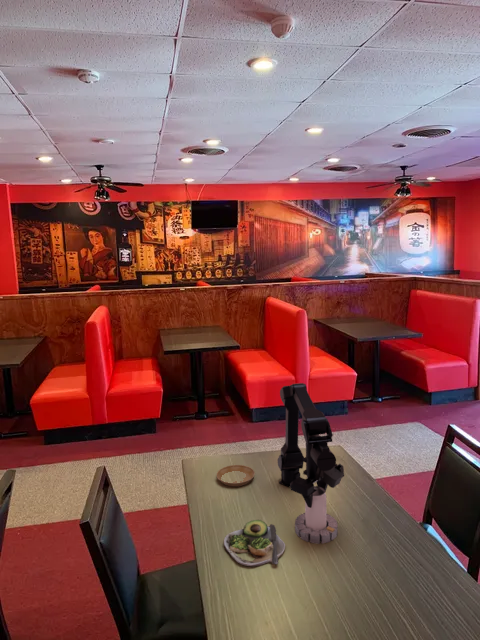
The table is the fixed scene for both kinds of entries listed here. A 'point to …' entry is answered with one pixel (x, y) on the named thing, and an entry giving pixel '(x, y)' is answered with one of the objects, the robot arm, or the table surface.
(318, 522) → the can
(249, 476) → the plant saucer
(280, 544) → the avocado toast plate
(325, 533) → the toothed ring
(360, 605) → the table surface
